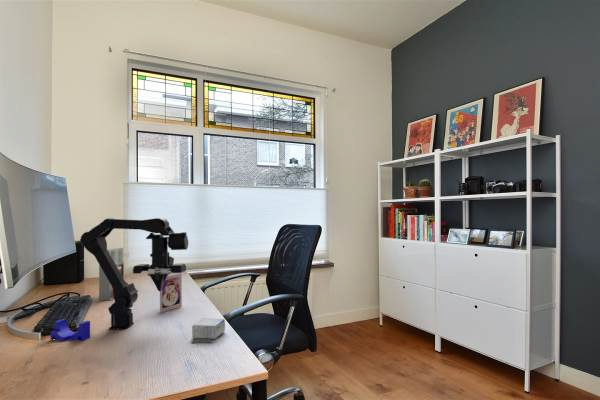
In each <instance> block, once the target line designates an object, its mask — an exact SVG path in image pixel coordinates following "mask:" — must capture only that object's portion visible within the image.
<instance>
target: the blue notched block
mask: <svg viewBox="0 0 600 400" xmlns="http://www.w3.org/2000/svg"><path fill="white" fill-rule="evenodd" d="M51 339H52V340H51ZM53 339H55V340H60V341H59V342H66V340H67V341H69V340H68V339H72V340H71V341H77V340H79V341H80V342H84V341H86V340H88V339H91V321H90V320H85V321H83V322H79V323H78V329H77V330H76V332H74V331H73V330H70V328H69V326H68V323H67V319H65V318H63V319H59V320H57V321H54V330H52V331H50V340H51V341H54V340H53Z"/></svg>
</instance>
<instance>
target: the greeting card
mask: <svg viewBox="0 0 600 400" xmlns="http://www.w3.org/2000/svg"><path fill="white" fill-rule="evenodd" d="M182 273H183V272H182ZM182 273H175V274H171V275H170V274H168V276H167V277H166V279H165V282H164V285H163V288H162V290H161V291H159V313H163V312H167V311H170V310H173V309H177V308H181V307H183V304H182V303H183V300H182V299H183V295H182V293H183V292H182V290H183V289H182V285H183V284H182V278H183V277H182Z"/></svg>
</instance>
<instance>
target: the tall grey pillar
mask: <svg viewBox="0 0 600 400" xmlns="http://www.w3.org/2000/svg"><path fill="white" fill-rule="evenodd" d="M124 249H125V248H124V247H112V248H107V250H108V252H109V254H110V256H111V258H112V259H113V261H114V263H115V265H116V266H117V268H118V270H119V272H120V273H121V275H122V277H123V279H124V280H125V278H124V277H125V275H124V274H125V270H124V269H125V264H124V263H125V262H124V261H125V260H124V255H125V254H124V253H125V252H124V251H125V250H124ZM98 278H99V279H98V292H99V293H98V301H111V300H113V299H114V297H113V288H112V286H111V284H110V283H109V281H108V279H107V277H106V276H105V274H104V272H103V270H102V268H101V267H100V265H99V264H98Z"/></svg>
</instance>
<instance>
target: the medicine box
mask: <svg viewBox="0 0 600 400" xmlns="http://www.w3.org/2000/svg"><path fill="white" fill-rule="evenodd" d="M225 320H226V319H224V318H215V317H214V318H212V317H208V318H207V317H203V318H201V319H200V320H198V321H196V322H195V323H193V324H192V325H191V331H192V332H191V334H192V339H195V338H209V339H212V340H213V339H214V340H215V339H217V338H218V337H219V336H221V335H222V334H223V333H224V332H225V331H226V321H225Z"/></svg>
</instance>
